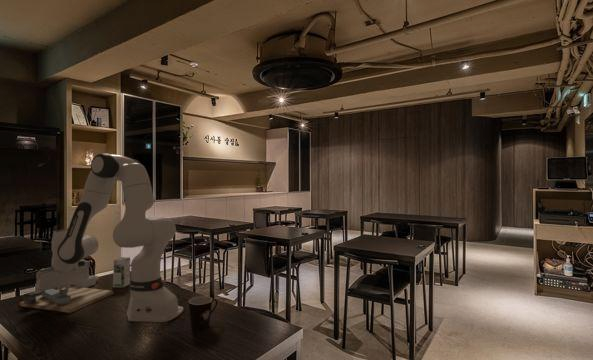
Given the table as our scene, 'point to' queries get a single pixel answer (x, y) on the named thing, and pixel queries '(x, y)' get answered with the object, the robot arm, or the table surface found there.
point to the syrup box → (121, 272)
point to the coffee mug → (200, 312)
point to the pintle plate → (75, 299)
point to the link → (56, 297)
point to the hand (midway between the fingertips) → (63, 295)
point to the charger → (86, 282)
